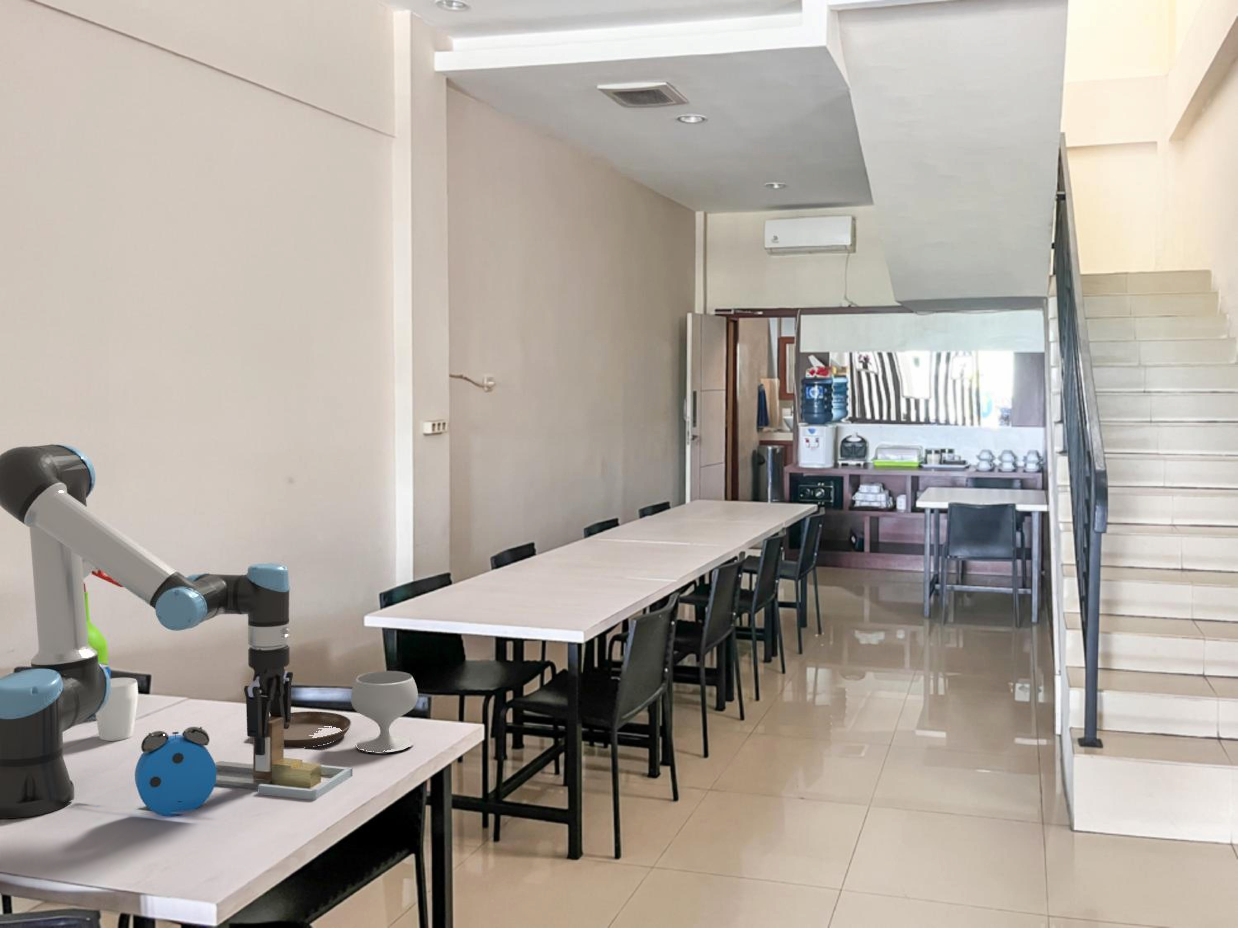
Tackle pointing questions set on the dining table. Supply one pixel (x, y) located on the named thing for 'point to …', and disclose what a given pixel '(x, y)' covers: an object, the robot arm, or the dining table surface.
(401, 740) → the chalice
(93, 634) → the spray bottle
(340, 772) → the tray
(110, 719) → the cup
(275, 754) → the brown wooden block
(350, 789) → the dining table surface
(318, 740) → the plant saucer
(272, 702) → the robot arm
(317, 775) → the chip
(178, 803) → the alarm clock
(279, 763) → the chip
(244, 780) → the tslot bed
